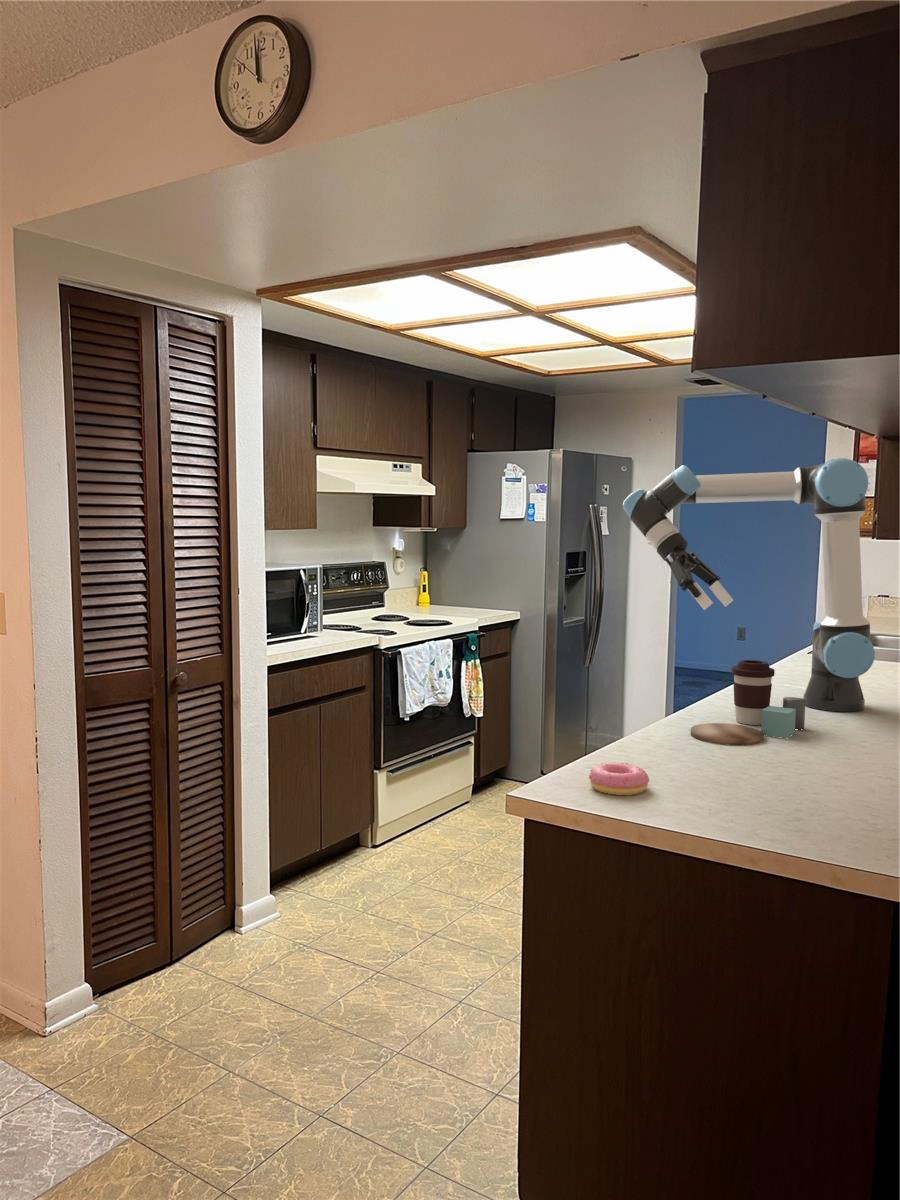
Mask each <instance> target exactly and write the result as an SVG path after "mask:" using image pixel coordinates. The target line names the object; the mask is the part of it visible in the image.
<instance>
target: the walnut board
mask: <svg viewBox="0 0 900 1200" xmlns="http://www.w3.org/2000/svg"><path fill="white" fill-rule="evenodd" d="M690 736H691V737H693V738H694V739H696V740H699V741H702V742H705V743H706V742H707V743H710V742H711V743H712V744H717V745H726V744H730V745H729V746H748V745H747V744H750V745H755V744H754V743H756V744H759V742H760V743H761V741H762V742H763V741H764V737H765V736H764V734H763V732H762V731H761V729H758V728H754V727H752V726H747V725H741V724H735V723H721V722H717V723H715V722H713V723H711V722H710V723H708V722H707V723H700V724H696V725H692V726H691V727H690ZM743 744H744V745H743Z"/></svg>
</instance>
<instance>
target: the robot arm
mask: <svg viewBox="0 0 900 1200" xmlns="http://www.w3.org/2000/svg"><path fill="white" fill-rule="evenodd" d="M868 487H869V477H868V474H867V471H866V470H865V468H864V467H863V465H861V464H860V463H858V462H857V461H855V460H852V459H849V458H845V457H844V458H840V457H838V458H834V459H830V460H828V461H825V462H823V463H821V464H817V465H812V466H802V467H800V466H799V467H797V468H796V469H795V470H793V471H775V472H774V471H772V472H756V473H755V472H750V473H749V472H748V473H747V472H745V473H727V474H726V473H725V474H724V473H722V474H703V475H700V474H699V475H698V474H697V475H695V474H694V473H693V472H692V470H691V469H690V468H689V467H688V466H687V465H680V466H679V467H677V468H676V469H674V470H673V471H672V472H671V473H670V474H669V475H667V476H666V477H665V478H664V479H663V480H662V481H660V482H659V483H658V484H657V485H656V486H655V487H653V488H652V489H650V490H649V491H647V490H645V489H644V488H639V489H636V490H635V491H632V493H630V494H629V495H628V496H627V497H626V498H625V499H624V500H623V502H622V508H623V510H624V512H625V513H626V515H627V516H628V518H629V519H630V521H631V522H632V523H633V525H635V526H636V528H637V529H638V530H639V531H640V533H641V534H642V535H643V536H644V537H645V539H646V540H647V541H648V542H647V544H648V545H649V546H652V547H653V548H654V549H656V553H657V554H658V555H659V556H660V558H661V559H662V560H663V561H665V562H666V563H667V564H668V566H669V568H670V569H671V572H672V574H673V575H674V578H675V580H676V582H677V583H678V585H679V587H681V590H682V591H684V592H685V591H686V590H687V592H689V594H690V595H691V596H692V597H693V599H694V600H695V601H696V602H697V603H698V604H699V606H700V607H701V608H702V610H703V611H706V610H707V609H708V608H709V607H710V606H712V605H713V604H714V602H713V600H711V598H710V597H709V596H708V594H707V593H706V591H704V590H703V588H701V586H700V585H699V583H698V581H697V582H696V581H694V578H693V575H692V574H694V575H695V576H696V577H697V578H699V579H700V580H702V582H704V583H706V585H708V586H709V587H708V588H709V589H710V591H711V592H712V593H713V594H714V596H715V597H716V598H717V600H719V602H720V603H721V604H722V605H723V607H724V608H726V607H727V606H729V605H730V604H732V603H733V601H734V599H733V597H732V596H731V595H730V593H728V591H727V590H726V589H725V587H723V585H722V584H721V582H719V580H721V577H720V576H719V575H718V574H716V573H715V572H714V571H713V570H712V569H711V568H710V567H709V566H708V565H706V563H704V562H703V561H702V560H701V558H699V557H698V556H697V555H696V554H695V552H692V551H691V552H690V553H688V551H686V549H687V547H688V544H689V543H688V541H687V540H686V539H685V536H683V535H682V533H680V532H679V530H678V528H677V527H676V526H675V525H674V524H673V522H672V521H671V520H670V518H668V517H667V515H668V513H670V512H671V511H672V510H674V509H675V508H676V507H678V506H679V505H685V504H686V505H687V504H688V505H689V504H708V503H710V504H711V503H712V504H715V503H744V502H746V503H747V502H748V503H749V502H772V501H773V502H776V501H777V502H779V501H794V503H796V504H797V505H804V504H805V505H806V504H807V505H814V516H815V517H816V518H818V519H819V520H820V522H821V537H822V538H821V539H822V540H821V541H822V558H823V559H822V560H823V561H822V562H823V585H824V586H823V589H824V610H825V615H824V616H825V617H824V618H823V619H819V620H816V621H815V622H814V623H813V629H812V651H811V654H812V655H811V672H810V673H811V675H810V678H809V681H808V683H807V686H806V689H805V692H804V693H803V698H802V699H805V700H806V702H805V707H808V708H811V709H816V710H821V711H829V712H830V711H831V712H858V711H859V712H861V711H863V710H864V709H865V704H866V703H865V701H866V700H865V697H864V694H863V690H862V687H861V684H860V679H859V678H860V676H862V675H864V674H866V673H867V672H868V671H869V670H870V668H871V667H872V666H873V664H874V662H875V655H876V651H875V648H874V645H873V643H872V641H871V622H870V621H869V620H868V619H867V618H866V617H865V616H864V612H863V610H864V609H863V589H862V587H863V586H862V583H863V582H862V562H861V561H862V560H861V559H862V558H861V536H860V535H861V531H860V529H861V528H860V519H861V518H862V517H863V515H864V514H865V513H866V494H867V491H868Z"/></svg>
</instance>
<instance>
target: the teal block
mask: <svg viewBox="0 0 900 1200" xmlns="http://www.w3.org/2000/svg"><path fill="white" fill-rule="evenodd" d="M795 719H796V709H792V708H784V707H783V706H774V705H770V706H768V707H767V708H765V709H763V710H762V722H761V725H760V727H761V729H760V731H762V732H763V734H764V735H765V736H764V737H769V736H775V737H774V738H776V737H782V738H781V739H783V738H789V737H790V736H791V735H793V734H794V733H795V734H796V730H795ZM795 734H794V735H795ZM766 735H767V736H766ZM794 735H793V736H794ZM791 737H792V736H791ZM791 737H790V738H791ZM790 738H789V739H790Z"/></svg>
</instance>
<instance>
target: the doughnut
mask: <svg viewBox="0 0 900 1200" xmlns="http://www.w3.org/2000/svg"><path fill="white" fill-rule="evenodd" d="M588 779H589V781H590V785H591V786H592V788H593V789H595V790H596V791H598V792H600V793H602V792H604V793H603V794H606V793H608V794H607V795H610V794H616V795H615V796H620V795H627V796H633V795H632V794H635V795H639V794H641V793H643V792H645V790H646V789H647V788H648V786H649V783H650V778H649V774H648V773H647V772H646V770H644V768H642V767H640V766H637V765H634V764H629V763H626V762H625V763H623V762H607V763H606V762H604V763H602V762H601V764H598V765H596V766H594V767H593V768H592V769H591V770H590V773H589V774H588ZM638 793H639V794H638Z"/></svg>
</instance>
